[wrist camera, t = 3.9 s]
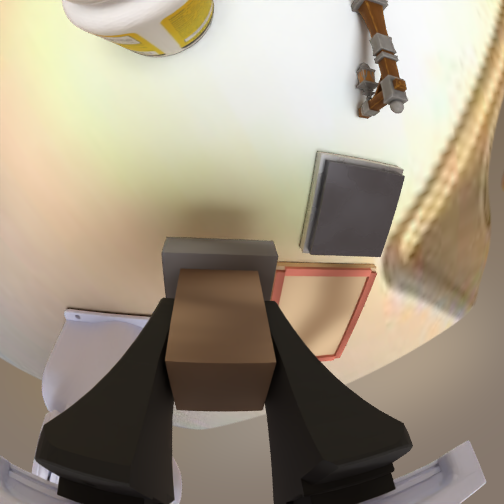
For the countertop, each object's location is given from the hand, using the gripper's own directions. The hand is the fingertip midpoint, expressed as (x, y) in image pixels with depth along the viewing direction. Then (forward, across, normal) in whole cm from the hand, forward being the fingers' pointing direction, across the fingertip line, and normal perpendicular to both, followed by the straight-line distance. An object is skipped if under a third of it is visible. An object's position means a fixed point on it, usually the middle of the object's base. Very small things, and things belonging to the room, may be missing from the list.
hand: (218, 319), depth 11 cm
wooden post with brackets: (+9, -8, -12) cm, 17 cm away
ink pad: (+8, -8, -2) cm, 12 cm away
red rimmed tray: (+8, -8, +8) cm, 14 cm away
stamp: (+2, 0, 0) cm, 2 cm away
